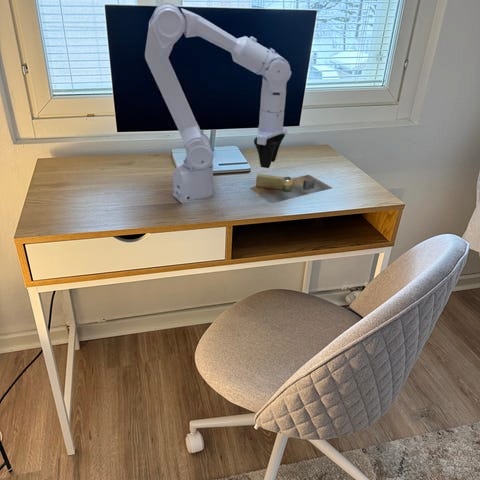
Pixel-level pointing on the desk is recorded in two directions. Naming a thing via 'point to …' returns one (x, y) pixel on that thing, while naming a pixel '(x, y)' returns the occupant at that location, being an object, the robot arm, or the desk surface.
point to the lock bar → (274, 182)
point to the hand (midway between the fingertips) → (267, 164)
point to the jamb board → (296, 191)
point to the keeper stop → (309, 183)
